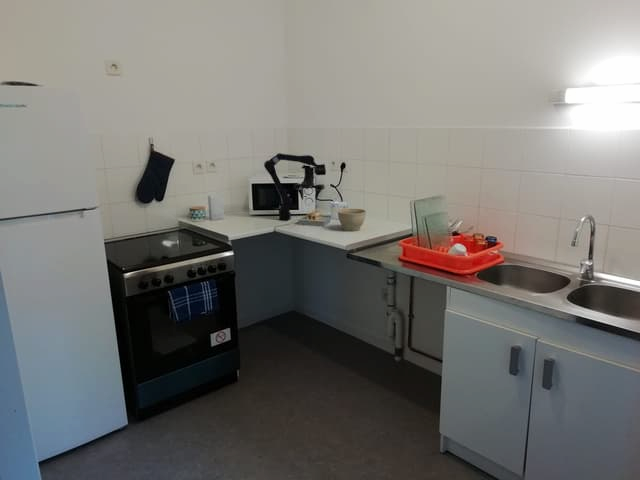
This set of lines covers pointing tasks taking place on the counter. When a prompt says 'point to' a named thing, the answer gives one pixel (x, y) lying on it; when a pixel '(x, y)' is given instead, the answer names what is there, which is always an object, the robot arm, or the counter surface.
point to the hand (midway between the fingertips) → (309, 200)
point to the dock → (314, 221)
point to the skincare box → (215, 207)
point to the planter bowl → (351, 218)
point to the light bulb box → (337, 208)
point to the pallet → (314, 215)
